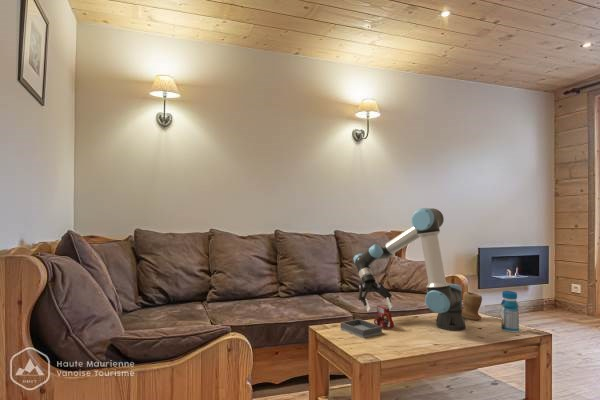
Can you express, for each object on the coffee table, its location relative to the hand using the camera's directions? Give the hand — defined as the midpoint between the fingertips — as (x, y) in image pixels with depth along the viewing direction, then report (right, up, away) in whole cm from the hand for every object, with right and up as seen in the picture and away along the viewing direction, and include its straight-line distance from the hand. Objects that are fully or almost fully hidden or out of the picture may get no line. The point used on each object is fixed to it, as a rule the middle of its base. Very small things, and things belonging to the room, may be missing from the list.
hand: (380, 309), depth 206 cm
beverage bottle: (+67, -9, -7) cm, 68 cm away
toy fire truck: (+1, -9, -3) cm, 9 cm away
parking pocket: (-12, -8, -11) cm, 18 cm away
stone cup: (+56, -10, +16) cm, 59 cm away
